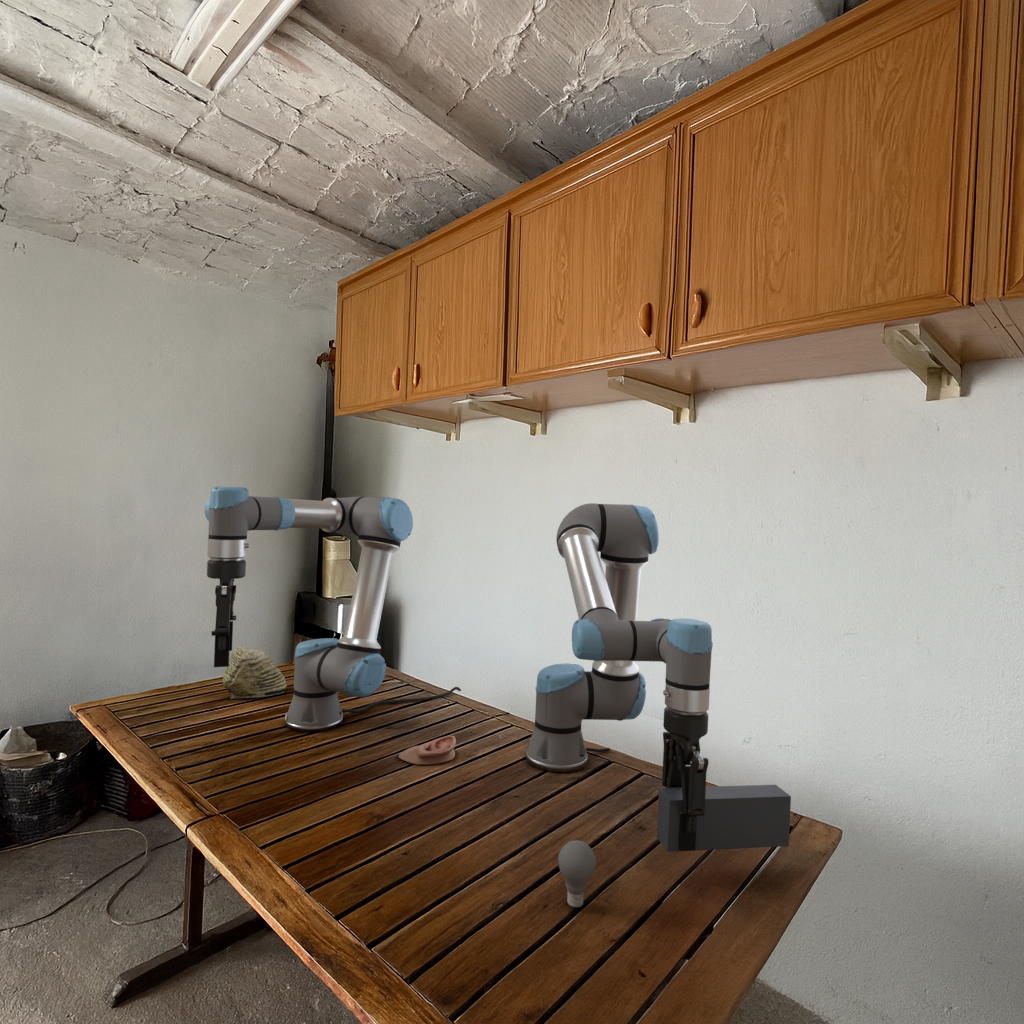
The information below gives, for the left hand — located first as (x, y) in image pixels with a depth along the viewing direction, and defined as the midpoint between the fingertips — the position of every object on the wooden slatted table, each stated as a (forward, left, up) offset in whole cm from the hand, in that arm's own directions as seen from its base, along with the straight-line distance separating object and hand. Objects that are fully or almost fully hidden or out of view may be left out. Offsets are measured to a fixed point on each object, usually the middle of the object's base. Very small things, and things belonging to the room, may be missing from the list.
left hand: (223, 658), depth 135 cm
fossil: (-38, -53, -28) cm, 71 cm away
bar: (-45, +92, -23) cm, 105 cm away
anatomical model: (-43, +19, -28) cm, 55 cm away
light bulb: (-19, +78, -28) cm, 85 cm away
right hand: (-39, +87, -22) cm, 98 cm away
